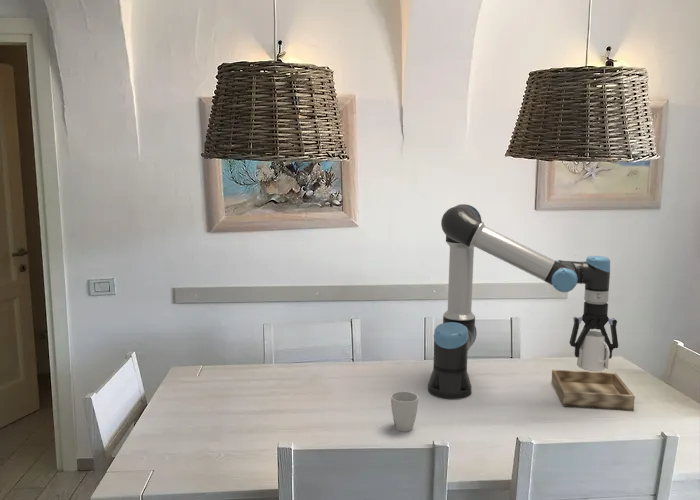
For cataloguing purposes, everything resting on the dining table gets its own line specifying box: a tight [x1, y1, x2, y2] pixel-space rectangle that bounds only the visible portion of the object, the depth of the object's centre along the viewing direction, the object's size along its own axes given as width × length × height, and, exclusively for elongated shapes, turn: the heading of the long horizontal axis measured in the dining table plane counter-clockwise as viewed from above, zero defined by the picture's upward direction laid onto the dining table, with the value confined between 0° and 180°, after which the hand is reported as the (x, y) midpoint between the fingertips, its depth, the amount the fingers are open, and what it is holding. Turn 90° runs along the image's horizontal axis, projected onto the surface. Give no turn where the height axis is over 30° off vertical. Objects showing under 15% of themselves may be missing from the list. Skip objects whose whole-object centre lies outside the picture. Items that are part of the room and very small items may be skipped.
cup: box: [390, 390, 419, 432], centre depth 183 cm, size 8×8×10 cm
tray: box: [550, 369, 636, 412], centre depth 209 cm, size 22×22×5 cm
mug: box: [579, 330, 610, 372], centre depth 207 cm, size 12×8×12 cm
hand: (592, 366), depth 208 cm, fingers closed on mug, 8 cm apart
